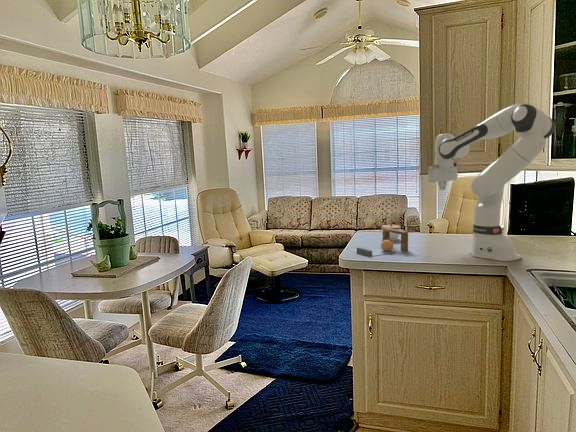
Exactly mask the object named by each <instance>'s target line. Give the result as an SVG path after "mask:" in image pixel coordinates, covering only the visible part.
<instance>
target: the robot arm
mask: <svg viewBox="0 0 576 432" xmlns="http://www.w3.org/2000/svg"><path fill="white" fill-rule="evenodd" d="M555 130H556V124H555V122H554V120H553V119H552V118H551V117H550V116H548V115H547V114H546V113H545V112H544V111H542V110H541V109H539V108H537V107H535V105H532V104H527V103H524V104H521V103H515V104H511V105H510V106H508V107H505V108H503V109H501V110H499V111H498V112H496V113H494V114H493V115H491V116H490V117H488V118H486V119H485V120H484V121H482V122H480V123H478V124H476V126H474V127H472V128H470V129H468V130H466V131H464V132H462V133H461V134H458V135H457V136H454V135H453V134H452V133H449V132H448V133H440V134H438V135H437V136H436V137H435V141H434V153H435V154H434V156H435V157H434V164H431V166H430V167H429V168H428V174H427V175H428V176H427V181H428V183H437V184H438V187H439V191H445V190H446V187H447V185H448V182H452V181H457V179H458V174H459V173H458V171H459V170H458V166H459V163H458V162H456V161H454V160H452V159H458V158H459V159H460V158H461V159H462V158H464V157H466V156H468V154H469V153H470V151H471V145H472V143H474V142H477V141H478V142H479V141H481V140H482V141H483V140H490V139H497V138H500V137H503V136H505V135H507V134H510V133H511V132H513V131H515V132H516V133H519V134H520V135H519V137H518V139H516V141H515V142H514V143H513V144H511V146H509V147H508V148H507V149H506V150H505V151H504V152H503V153H502V154H501V155H500V156H499V157H497V159H496V160H494V161H493V162H492V163H490V164H489V165H488V166H487V167H486V168H485V169H484V170H482V171H481V172H480V173H479V174H478V175H476V177H474V179H472V181H471V184H470V188H471V189H470V190H471V191H472V193H473V194H475V196H477V199H476V200H477V201H476V204H475V206H474V207H475V208H474V221H473V222H474V223H473V225H472V234H473V236H472V242H471V247H470V250H469V254H470V255H471V257H474V258H475V257H476V258H480V259H487V260H488V259H489V260H493V261H494V260H495V261H500V262H511V261H517V260H519V259H521V258H522V255H521V254H518V253H517V249H516V246H515V243H513V241H511V240H510V239H509V238H508V237H507V236H506V235H505V234H504V232H503V231H504V230H506V229H505V228H506V227H503V228H502V226H501V225H500V222H501V221H500V220H501V209H502V207H501V206H502V201H503V196H504V188H505V185H506V184H507V183H509V181H512V179H514V178H515V177H516V176H517V175H518V174H520V173H521V172H522V171H523V170H525V168H526V167H528V166H529V164H531V163H532V162H533V161H534V160H535V159H536V158H537V157H538V155H540V153H541V152H542V151H543V150H544V149H545V147H546V144H547V140H546V139H548V138H550V137H551V136H552V135H553V133H554V132H555ZM454 173H455V174H454ZM456 173H458V174H456Z"/></svg>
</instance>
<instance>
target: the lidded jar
mask: <svg viewBox="0 0 576 432" xmlns="http://www.w3.org/2000/svg"><path fill="white" fill-rule="evenodd" d="M383 228H390V229H396V230H401V228H402V226H401V225H398V224H393V223H389V224H384V225H381V233H382V234H381V235H382V236H383ZM401 231H402V230H401ZM400 236H401V234H397V233H392V232H390V240H393V241H396V240H397V239H399V237H400Z"/></svg>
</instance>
